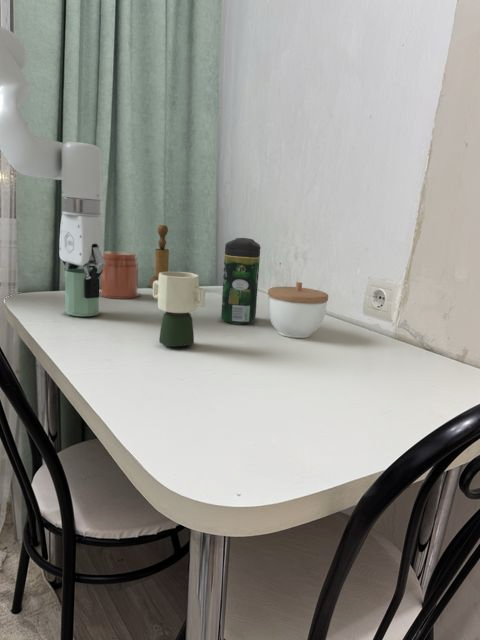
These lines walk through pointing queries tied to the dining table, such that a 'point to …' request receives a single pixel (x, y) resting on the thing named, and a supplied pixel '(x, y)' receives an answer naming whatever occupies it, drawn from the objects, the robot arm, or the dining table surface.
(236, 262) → the coffee jar
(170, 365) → the dining table surface
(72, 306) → the cup
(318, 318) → the lidded bowl
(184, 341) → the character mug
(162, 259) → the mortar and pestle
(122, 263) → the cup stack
